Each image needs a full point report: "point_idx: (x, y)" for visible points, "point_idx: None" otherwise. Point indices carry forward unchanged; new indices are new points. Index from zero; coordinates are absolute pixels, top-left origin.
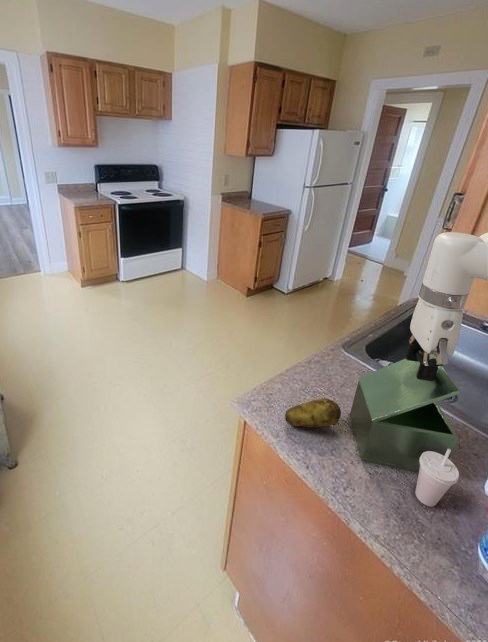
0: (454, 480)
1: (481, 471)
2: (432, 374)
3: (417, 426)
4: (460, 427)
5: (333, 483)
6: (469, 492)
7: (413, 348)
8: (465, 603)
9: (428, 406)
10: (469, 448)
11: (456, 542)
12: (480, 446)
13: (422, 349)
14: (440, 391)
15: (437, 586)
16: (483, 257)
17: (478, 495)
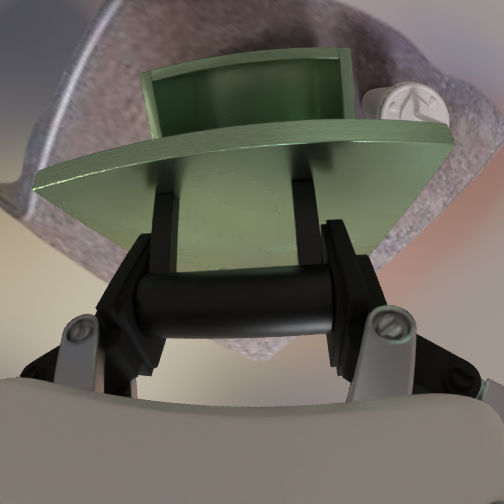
0: (446, 107)
1: None
2: (374, 280)
3: (196, 75)
4: None
5: (380, 251)
6: (340, 17)
7: (152, 349)
8: (494, 122)
9: (186, 74)
10: None
11: (438, 90)
12: None
13: (132, 312)
14: (393, 189)
15: (485, 147)
16: None
17: (341, 4)
